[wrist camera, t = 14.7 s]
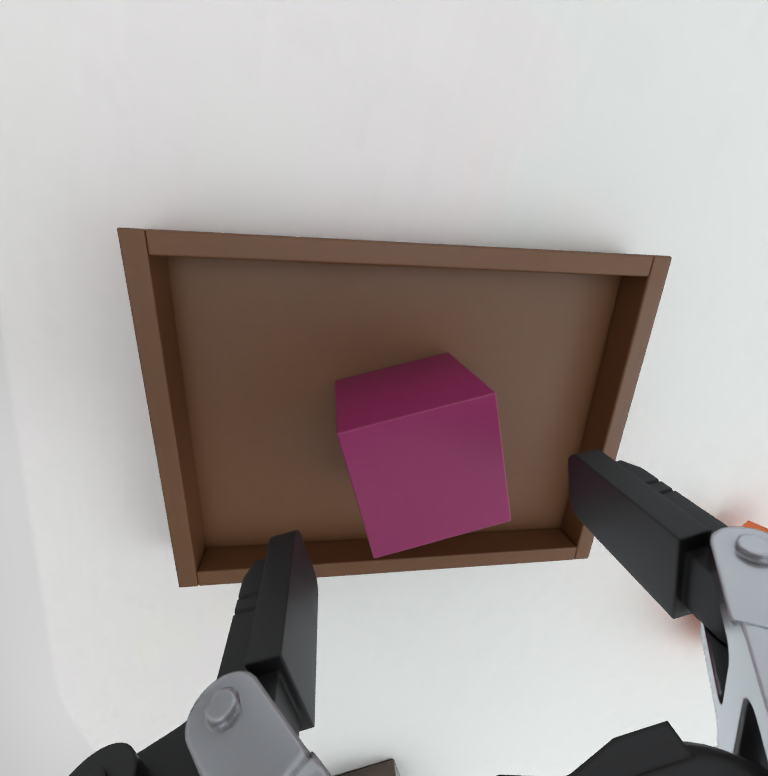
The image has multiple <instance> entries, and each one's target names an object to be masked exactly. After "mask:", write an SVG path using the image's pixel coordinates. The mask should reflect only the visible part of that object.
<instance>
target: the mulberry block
mask: <svg viewBox="0 0 768 776" xmlns="http://www.w3.org/2000/svg"><path fill="white" fill-rule="evenodd" d="M335 398H336V426H337V437H338V440H339V444H340V447H341V450H342V454H343V457H344V460H345V464H346V467H347V470H348V474H349V477H350V480H351V484H352V487H353V490H354V494H355V497H356V501H357V504H358V507H359V511H360V514H361V517H362V521H363V524H364V527H365V531H366V534H367V537H368V541H369V544H370V548H371V551H372V554H373V557H374V558H378V557H382V556H385V555H389V554H392V553H396V552H400V551H403V550H407V549H411V548H414V547H418V546H421V545H425V544H429V543H432V542H436V541H439V540H443V539H447V538H450V537H454V536H458V535H461V534H465V533H468V532H472V531H476V530H479V529H483V528H486V527H490V526H494V525H497V524H501V523H505V522H508V521H511V515H510V507H509V498H508V490H507V482H506V474H505V465H504V457H503V449H502V441H501V432H500V424H499V416H498V408H497V399H496V393H495V392H494V391H493V390H492V389H491V388H490V387H488V386H487V385H486V384H485V383H484V382H483V381H481V380H480V379H479V378H478V377H477V376H476V375H474V374H473V373H472V372H471V371H470V370H469V369H467V368H466V367H465V366H464V365H463V364H462V363H460V362H459V361H458V360H457V359H456V358H455V357H453V356H452V355H451V354H450V353H444V354H440V355H436V356H432V357H428V358H424V359H420V360H416V361H412V362H408V363H404V364H400V365H396V366H392V367H388V368H384V369H380V370H376V371H372V372H368V373H364V374H361V375H357V376H353V377H349V378H345V379H341V380H337V381H335Z"/></svg>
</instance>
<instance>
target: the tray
mask: <svg viewBox="0 0 768 776" xmlns="http://www.w3.org/2000/svg"><path fill="white" fill-rule="evenodd" d="M117 231H118V237H119V242H120V248H121V254H122V260H123V265H124V271H125V277H126V283H127V288H128V294H129V300H130V306H131V312H132V317H133V323H134V329H135V335H136V340H137V346H138V352H139V358H140V363H141V369H142V375H143V381H144V386H145V392H146V398H147V404H148V410H149V415H150V421H151V427H152V433H153V438H154V444H155V450H156V456H157V461H158V467H159V473H160V479H161V484H162V490H163V496H164V502H165V508H166V513H167V519H168V525H169V531H170V536H171V542H172V548H173V554H174V559H175V565H176V571H177V577H178V582H179V587H192V586H198V584H199V585H200V586H202V585H216V584H230V583H242V581H243V578H244V577H245V575H246V574H247V572H248V570H249V569H250V567H251V566H252V564H253V563H254V561H257V560H261V559H264V558H266V555H267V550H268V545H269V540H270V538H271V537H272V536H276V535H279V534H283V533H287V532H290V531H294V530H299V532H300V533H301V536H302V538H303V541H304V544H305V546H306V549H307V552H308V555H309V557H310V560H311V563H312V565H313V568H314V571H315V575H316V577H330V576H345V575H359V574H373V573H387V572H402V571H416V570H430V569H444V568H459V567H473V566H487V565H502V564H516V563H530V562H544V561H559V560H573V559H585V558H588V556H589V553H590V549H591V545H592V542H593V538H594V535H593V534H592V533H591V532H590V531H589V530H588V529H587V528H586V526H585V525H584V524H583V523H582V522H581V521H580V520H579V519H578V517H577V516H576V514H575V513H574V511H573V508H572V506H571V502H570V495H569V476H568V458H569V456H570V455H573V454H577V453H581V452H584V451H588V450H592V449H599V450H601V451H602V452H604V453H605V454H606V455H608V456H609V457H610V458H612V459H613V460H615V459H616V456H617V452H618V449H619V445H620V442H621V438H622V434H623V431H624V427H625V424H626V420H627V416H628V413H629V409H630V406H631V402H632V399H633V395H634V391H635V388H636V384H637V381H638V377H639V373H640V370H641V366H642V363H643V359H644V356H645V352H646V348H647V345H648V341H649V338H650V334H651V330H652V327H653V323H654V320H655V316H656V313H657V309H658V305H659V302H660V298H661V295H662V291H663V287H664V284H665V280H666V277H667V273H668V270H669V266H670V262H671V257H670V256H658V255H639V254H620V253H600V252H581V251H562V250H542V249H523V248H504V247H484V246H465V245H445V244H426V243H407V242H387V241H368V240H349V239H329V238H310V237H291V236H271V235H252V234H233V233H213V232H194V231H175V230H155V229H137V228H117ZM444 353H450V354H451V355H452V356H453V357H455V358H456V359H457V360H458V361H459V362H460V363H462V364H463V365H464V366H465V367H466V368H467V369H469V370H470V371H471V372H472V373H473V374H474V375H476V376H477V377H478V378H479V379H480V380H481V381H483V382H484V383H485V384H486V385H487V386H488V387H490V388H491V389H492V390H493V391H494V392H495V393H496V399H497V408H498V416H499V424H500V432H501V441H502V449H503V457H504V465H505V474H506V482H507V490H508V498H509V507H510V515H511V521H508V522H505V523H501V524H497V525H494V526H490V527H486V528H483V529H479V530H476V531H472V532H468V533H465V534H461V535H458V536H454V537H450V538H447V539H443V540H439V541H436V542H432V543H429V544H425V545H421V546H418V547H414V548H411V549H407V550H403V551H400V552H396V553H392V554H389V555H385V556H382V557H378V558H374V557H373V554H372V551H371V548H370V544H369V541H368V537H367V534H366V531H365V527H364V524H363V521H362V517H361V514H360V511H359V507H358V504H357V501H356V497H355V494H354V490H353V487H352V484H351V480H350V477H349V474H348V470H347V467H346V464H345V460H344V457H343V454H342V450H341V447H340V444H339V440H338V437H337V426H336V398H335V381H337V380H341V379H345V378H349V377H353V376H357V375H361V374H364V373H368V372H372V371H376V370H380V369H384V368H388V367H392V366H396V365H400V364H404V363H408V362H412V361H416V360H420V359H424V358H428V357H432V356H436V355H440V354H444Z"/></svg>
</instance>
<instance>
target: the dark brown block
mask: <svg viewBox="0 0 768 776" xmlns="http://www.w3.org/2000/svg"><path fill="white" fill-rule="evenodd" d="M340 776H400V775H399V772H398V770H397V767H396V764H395V761H394V760H393V759H392V760H389V761H386V762H382V763H379V764H376V765H372V766H369V767H366V768H363V769H359V770H356V771H353V772H349V773H346V774H343V775H340Z"/></svg>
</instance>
